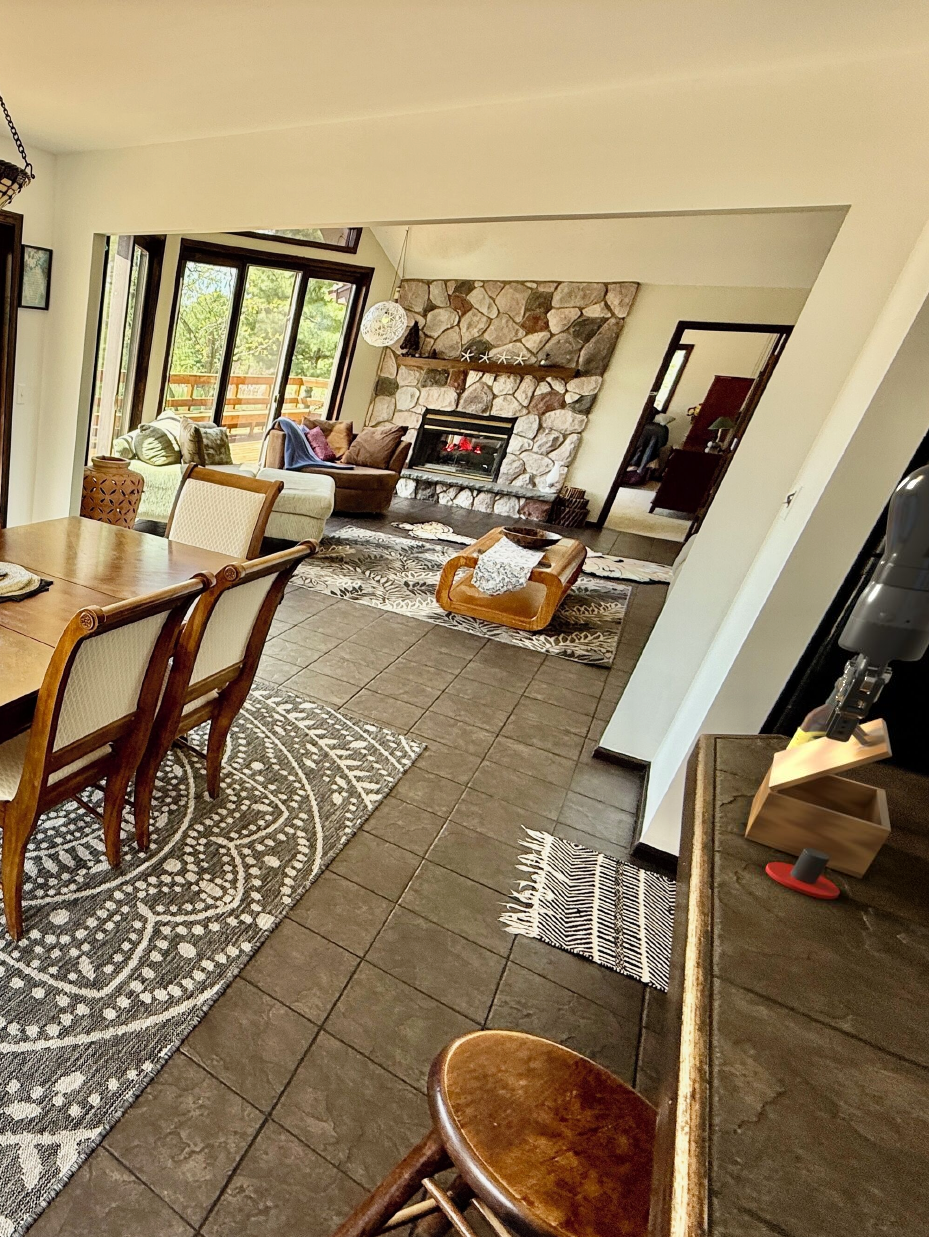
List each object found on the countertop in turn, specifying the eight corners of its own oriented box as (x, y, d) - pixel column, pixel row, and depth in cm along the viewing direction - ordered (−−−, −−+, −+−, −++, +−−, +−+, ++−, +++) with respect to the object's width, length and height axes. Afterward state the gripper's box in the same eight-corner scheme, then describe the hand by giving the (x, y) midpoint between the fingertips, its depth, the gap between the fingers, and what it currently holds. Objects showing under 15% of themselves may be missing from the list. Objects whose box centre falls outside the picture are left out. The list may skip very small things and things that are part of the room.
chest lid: (886, 722, 100) (859, 694, 101) (892, 756, 89) (862, 724, 90) (778, 757, 108) (755, 731, 110) (772, 792, 98) (747, 762, 99)
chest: (858, 834, 104) (885, 789, 101) (861, 879, 93) (891, 830, 90) (753, 800, 112) (775, 758, 109) (744, 837, 101) (768, 792, 98)
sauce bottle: (782, 795, 114) (842, 685, 106) (758, 777, 119) (813, 671, 112) (832, 804, 112) (896, 692, 105) (805, 785, 118) (864, 678, 110)
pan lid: (828, 879, 93) (845, 851, 91) (845, 906, 88) (863, 877, 86) (759, 859, 96) (775, 831, 95) (772, 884, 91) (788, 855, 89)
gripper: (943, 636, 85) (877, 759, 91) (932, 617, 94) (873, 730, 100) (852, 621, 90) (796, 738, 96) (851, 605, 99) (799, 713, 105)
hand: (836, 733), depth 98 cm, fingers closed on chest lid, 5 cm apart
